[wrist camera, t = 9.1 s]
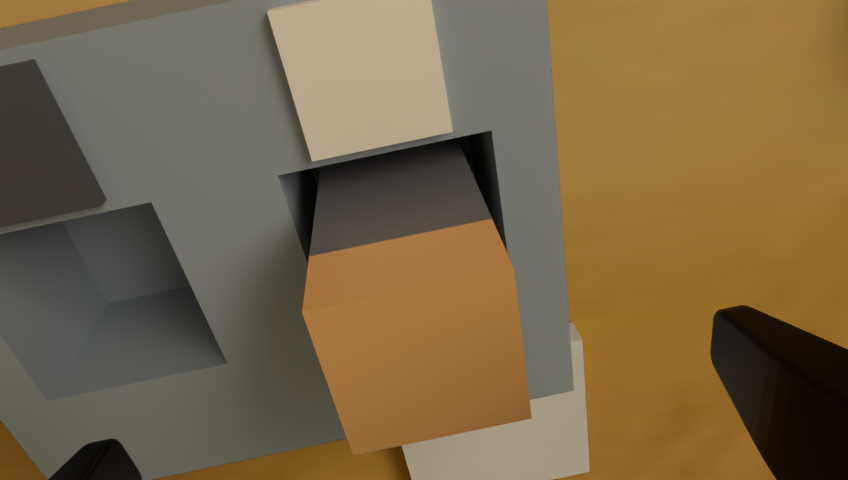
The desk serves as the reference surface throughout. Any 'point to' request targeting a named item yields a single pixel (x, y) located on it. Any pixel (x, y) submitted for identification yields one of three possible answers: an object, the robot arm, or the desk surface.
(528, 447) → the plate
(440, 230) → the plug
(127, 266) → the port block
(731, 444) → the desk surface
